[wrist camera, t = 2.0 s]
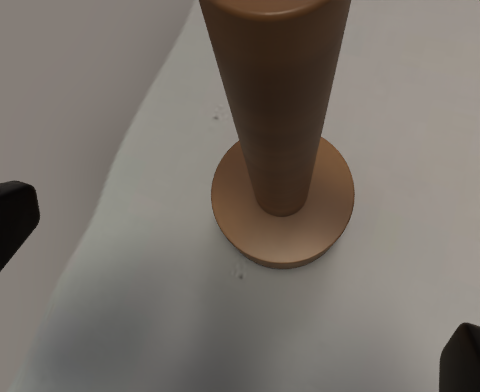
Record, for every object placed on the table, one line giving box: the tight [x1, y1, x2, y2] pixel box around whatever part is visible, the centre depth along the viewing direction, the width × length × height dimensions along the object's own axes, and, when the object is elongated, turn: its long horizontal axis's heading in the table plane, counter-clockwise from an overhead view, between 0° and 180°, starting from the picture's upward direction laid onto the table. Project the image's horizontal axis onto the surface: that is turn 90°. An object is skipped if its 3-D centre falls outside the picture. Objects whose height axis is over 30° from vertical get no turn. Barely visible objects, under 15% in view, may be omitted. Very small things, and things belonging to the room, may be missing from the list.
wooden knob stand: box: [199, 0, 355, 269], centre depth 12 cm, size 6×6×15 cm
